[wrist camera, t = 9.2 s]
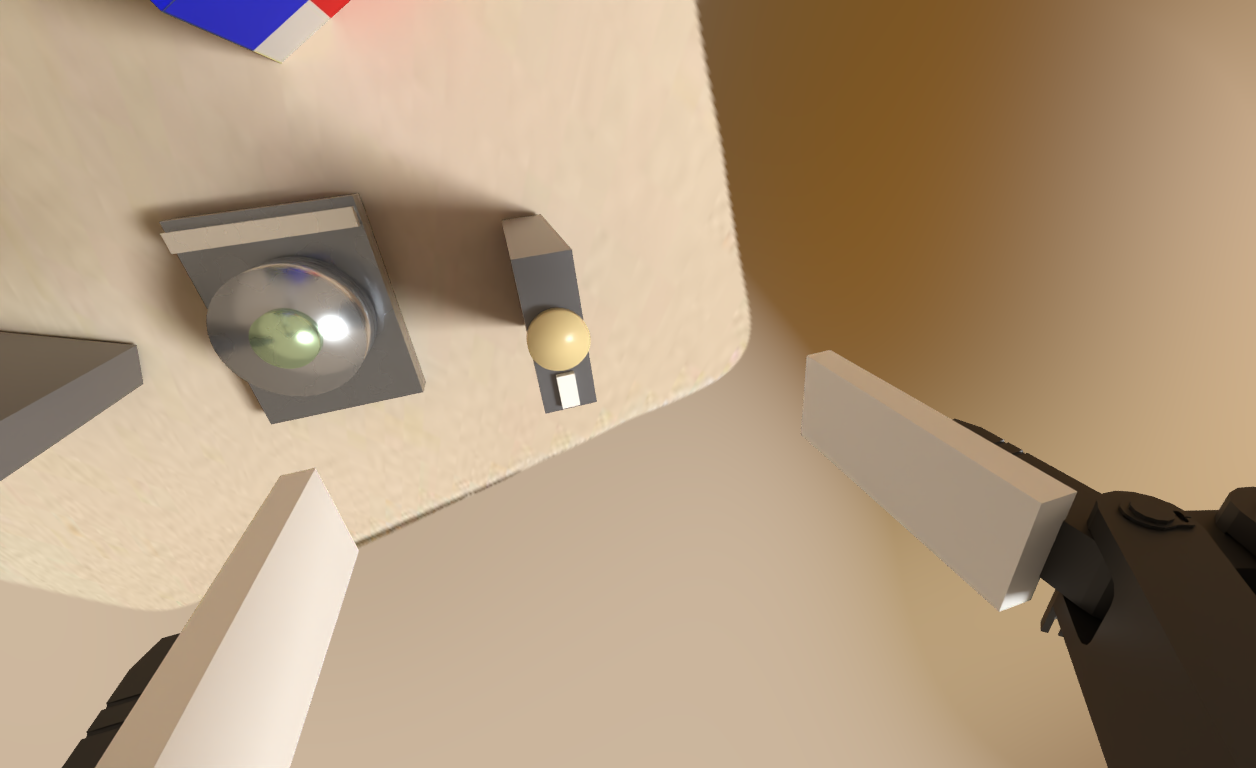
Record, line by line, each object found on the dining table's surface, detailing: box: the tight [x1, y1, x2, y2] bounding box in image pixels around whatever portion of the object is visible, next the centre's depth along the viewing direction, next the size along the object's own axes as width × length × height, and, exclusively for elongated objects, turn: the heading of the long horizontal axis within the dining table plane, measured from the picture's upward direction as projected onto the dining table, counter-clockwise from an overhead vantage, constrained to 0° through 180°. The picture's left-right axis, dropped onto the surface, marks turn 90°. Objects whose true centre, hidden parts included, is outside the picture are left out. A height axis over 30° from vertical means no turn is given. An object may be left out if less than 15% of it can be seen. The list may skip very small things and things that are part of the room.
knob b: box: [501, 214, 597, 413], centre depth 25 cm, size 7×3×13 cm, turn 7°
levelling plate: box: [159, 193, 426, 424], centre depth 26 cm, size 12×9×5 cm
